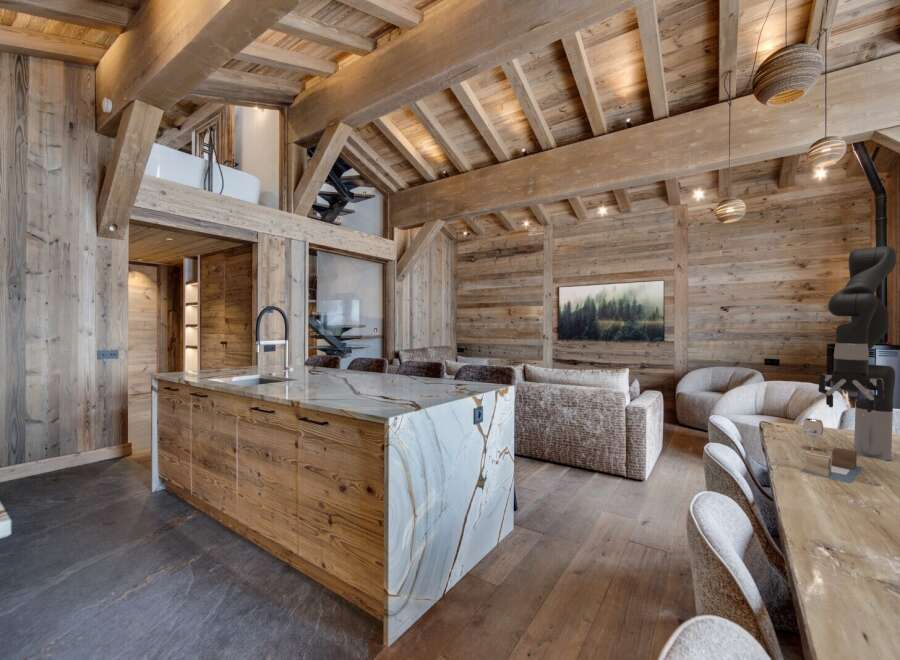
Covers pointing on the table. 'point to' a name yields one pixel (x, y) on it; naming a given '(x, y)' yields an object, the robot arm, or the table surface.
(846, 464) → the walnut block
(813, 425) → the wineglass
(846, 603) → the table surface
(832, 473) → the board
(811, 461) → the maple block
